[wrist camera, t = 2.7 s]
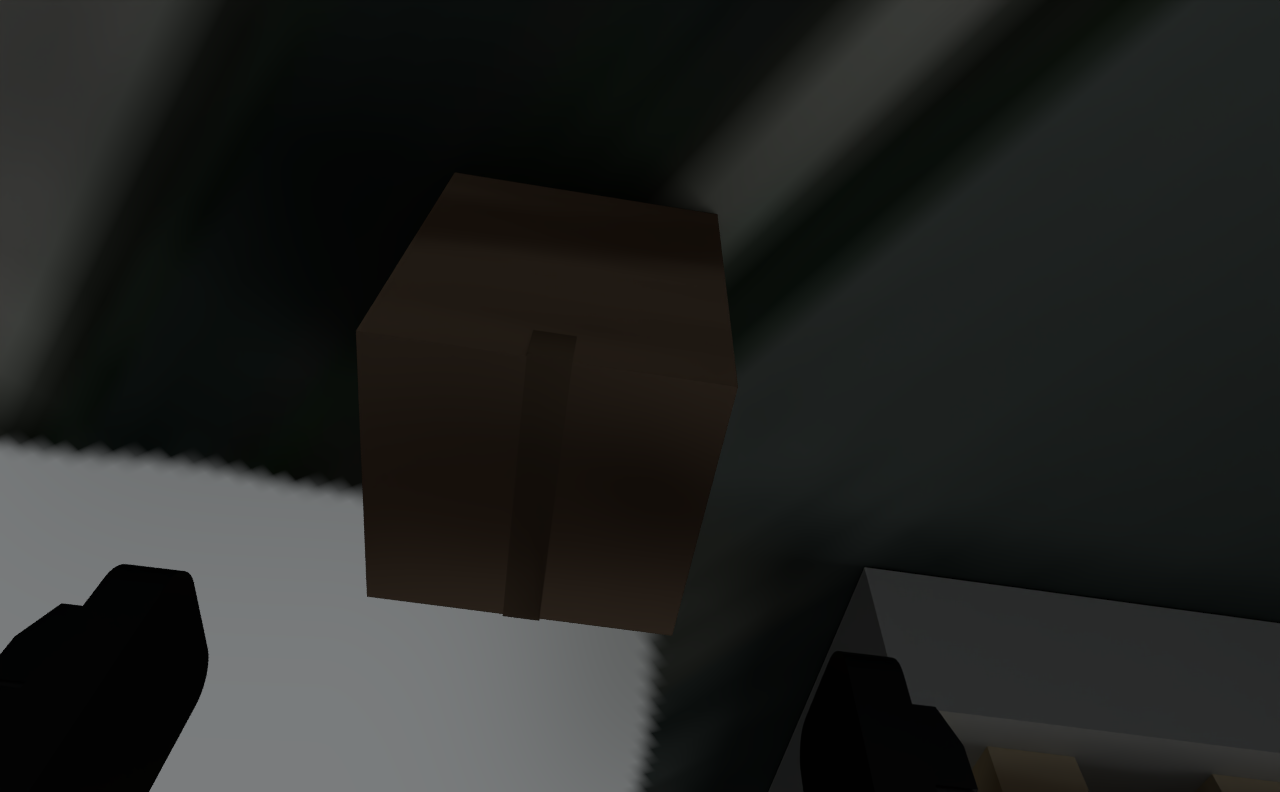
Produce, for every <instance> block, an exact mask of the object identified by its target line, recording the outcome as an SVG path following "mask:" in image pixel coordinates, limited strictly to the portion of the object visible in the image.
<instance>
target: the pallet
mask: <svg viewBox="0 0 1280 792" xmlns="http://www.w3.org/2000/svg"><path fill="white" fill-rule="evenodd" d="M972 772H973V775H974V778H975V781H976V784H977V787H978V792H1089V789H1088V787H1087V785H1086V782H1085V780H1084V778H1083V776H1082V773H1081V771H1080V769H1079V766H1078V764H1077V762H1076V759H1075V757H1071V756H1063V755H1055V754H1047V753H1039V752H1031V751H1023V750H1015V749H1006V748H998V747H990V746H987V747H986V749H985V750H984V752H983V753H982V755H981V756H980V758H979V759H978V761H977V762H976V764H975V765H974V767H973V768H972ZM1195 792H1280V782H1274V781H1266V780H1258V779H1250V778H1242V777H1233V776H1225V775H1217V774H1211V775H1210V777H1209V778H1208V779H1207V780H1206V781H1205V782H1204V783H1203V784H1202V785H1201V786H1200V787H1199V788H1198V789H1197V790H1196V791H1195Z"/></svg>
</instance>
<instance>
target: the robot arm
mask: <svg viewBox="0 0 1280 792" xmlns="http://www.w3.org/2000/svg"><path fill="white" fill-rule="evenodd" d="M207 668H208V648H207V644H206V638H205V633H204V629H203V624H202V619H201V615H200V610H199V605H198V601H197V595H196V591H195V586H194V582H193V578H192V577H191V575H190V574H189V573H188V572H186V571H178V570H170V569H162V568H154V567H145V566H136V565H128V564H121V565H118V566H116V567H115V568H113V569H112V570H111V571H110V572H109V573H108V574H107V575H106V576H105V578H104V579H103V580H102V581H101V583H100V584H99V586H98V587H97V588H96V589H95V591H94V592H93V593H92V595H91V596H90V598H89V599H88V600H87V601H86V603H85V604H84V605H83V606H79V605H71V604H60V605H59V606H57V607H56V608H54V609H53V610H52V611H50V612H49V613H47V614H46V615H44V616H43V617H42V618H40V619H39V620H38V621H36V622H35V623H33V624H32V625H30V626H29V627H28V628H26V629H25V630H23V631H22V632H21V633H19V634H18V635H16V636H15V637H14V638H13V639H12V641H11V642H10V643H9V644H8V645H7V647H6V648H5V649H4V650H3V652H2V653H1V654H0V792H149V791H150V789H151V787H152V785H153V783H154V782H155V780H156V778H157V776H158V774H159V772H160V770H161V769H162V767H163V765H164V763H165V761H166V759H167V758H168V756H169V754H170V752H171V750H172V748H173V746H174V744H175V743H176V741H177V739H178V737H179V735H180V733H181V732H182V730H183V728H184V726H185V724H186V722H187V720H188V719H189V716H190V715H191V713H192V711H193V709H194V708H195V706H196V704H197V702H198V699H199V697H200V695H201V692H202V689H203V686H204V683H205V679H206V675H207ZM800 771H801V778H802V785H803V792H978V787H977V784H976V781H975V778H974V775H973V772H972V769H971V766H970V763H969V760H968V757H967V754H966V751H965V748H964V745H963V744H962V743H961V741H960V740H959V738H958V737H957V736H956V734H955V733H954V732H953V730H952V729H951V727H950V726H949V725H948V723H947V722H946V720H945V719H944V718H943V716H942V715H941V714H940V712H939V711H938V709H937V708H936V707H934V706H925V705H917V704H912V701H911V698H910V694H909V691H908V687H907V684H906V680H905V677H904V673H903V670H902V668H901V666H900V664H899V662H898V661H897V660H896V659H895V658H893V657H886V656H877V655H869V654H860V653H852V652H843V651H835V652H834V653H833V654H832V656H831V657H830V660H829V662H828V664H827V667H826V669H825V672H824V674H823V676H822V679H821V681H820V684H819V686H818V689H817V691H816V694H815V696H814V698H813V701H812V703H811V706H810V708H809V711H808V713H807V715H806V718H805V721H804V724H803V728H802V733H801V740H800Z"/></svg>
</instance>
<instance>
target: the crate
mask: <svg viewBox="0 0 1280 792" xmlns="http://www.w3.org/2000/svg"><path fill="white" fill-rule="evenodd" d="M356 343H357V367H358V391H359V415H360V439H361V463H362V487H363V510H364V535H365V558H366V582H367V583H366V584H367V597H375V598H383V599H391V600H398V601H406V602H414V603H421V604H430V605H437V606H445V607H453V608H460V609H468V610H476V611H484V612H492V613H499V614H503V616H508V617H514V618H523V619H530V620H539V619H546V620H555V621H563V622H570V623H578V624H585V625H593V626H601V627H609V628H617V629H624V630H632V631H640V632H648V633H656V634H663V635H671V636H672V634H673V630H674V626H675V622H676V619H677V615H678V611H679V607H680V603H681V600H682V596H683V592H684V588H685V585H686V581H687V577H688V573H689V569H690V566H691V562H692V558H693V554H694V551H695V547H696V543H697V539H698V536H699V532H700V528H701V524H702V520H703V517H704V513H705V509H706V505H707V502H708V498H709V494H710V490H711V486H712V483H713V479H714V475H715V471H716V468H717V464H718V460H719V456H720V452H721V449H722V445H723V441H724V437H725V434H726V430H727V426H728V422H729V418H730V415H731V411H732V407H733V403H734V400H735V396H736V392H737V388H738V384H737V376H736V367H735V359H734V350H733V342H732V333H731V325H730V317H729V308H728V300H727V291H726V283H725V274H724V266H723V257H722V249H721V240H720V232H719V224H718V215H717V214H711V213H705V212H699V211H692V210H686V209H680V208H674V207H667V206H661V205H655V204H649V203H642V202H636V201H630V200H624V199H617V198H611V197H605V196H599V195H592V194H586V193H580V192H574V191H567V190H561V189H555V188H549V187H542V186H536V185H530V184H524V183H517V182H511V181H505V180H498V179H492V178H486V177H480V176H473V175H467V174H461V173H454V174H453V176H452V178H451V179H450V181H449V182H448V184H447V186H446V187H445V189H444V190H443V192H442V194H441V195H440V197H439V199H438V200H437V202H436V203H435V205H434V207H433V208H432V210H431V211H430V213H429V215H428V216H427V218H426V219H425V221H424V223H423V224H422V226H421V227H420V229H419V231H418V232H417V234H416V235H415V237H414V239H413V240H412V242H411V243H410V245H409V247H408V248H407V250H406V251H405V253H404V255H403V256H402V258H401V259H400V261H399V263H398V264H397V266H396V268H395V269H394V271H393V272H392V274H391V276H390V277H389V279H388V280H387V282H386V284H385V285H384V287H383V288H382V290H381V292H380V293H379V295H378V296H377V298H376V300H375V301H374V303H373V304H372V306H371V308H370V309H369V311H368V312H367V314H366V316H365V317H364V319H363V320H362V322H361V324H360V325H359V327H358V328H357V330H356Z"/></svg>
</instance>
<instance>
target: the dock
mask: <svg viewBox="0 0 1280 792" xmlns="http://www.w3.org/2000/svg"><path fill="white" fill-rule="evenodd" d="M835 651H843V652H852V653H860V654H869V655H877V656H886V657H893V658H895V659H896V660H897V661H898V662H899V664H900V666H901V668H902V670H903V673H904V677H905V680H906V684H907V687H908V691H909V694H910V698H911V701H912V704H917V705H925V706H934V707H936V708H937V709H938V711H939V712H940V714H941V715H942V716H943V718H944V719H945V720H946V722H947V723H948V725H949V726H950V727H951V729H952V730H953V732H954V733H955V734H956V736H957V737H958V738H959V740H960V741H961V743H962V744H963V745H964V748H965V751H966V754H967V757H968V760H969V763H970V766H971V769H972V768H973V767H974V765H975V764H976V762H977V761H978V759H979V758H980V756H981V755H982V753H983V752H984V750H985V749H986V747H987V746H990V747H998V748H1006V749H1015V750H1023V751H1031V752H1039V753H1047V754H1055V755H1063V756H1071V757H1075V759H1076V762H1077V764H1078V766H1079V769H1080V771H1081V773H1082V776H1083V778H1084V780H1085V782H1086V785H1087V787H1088V789H1089V792H1195V791H1196V790H1197V789H1198V788H1199V787H1200V786H1201V785H1202V784H1203V783H1204V782H1205V781H1206V780H1207V779H1208V778H1209V777H1210V775H1211V774H1217V775H1225V776H1233V777H1242V778H1250V779H1258V780H1266V781H1274V782H1280V623H1274V622H1266V621H1259V620H1251V619H1244V618H1237V617H1229V616H1222V615H1214V614H1207V613H1200V612H1192V611H1185V610H1177V609H1170V608H1163V607H1155V606H1148V605H1140V604H1133V603H1126V602H1118V601H1111V600H1103V599H1096V598H1089V597H1081V596H1074V595H1066V594H1059V593H1052V592H1044V591H1037V590H1029V589H1022V588H1015V587H1007V586H1000V585H992V584H985V583H978V582H970V581H963V580H955V579H948V578H941V577H933V576H926V575H918V574H911V573H904V572H896V571H889V570H881V569H874V568H867V567H864V569H863V572H862V574H861V576H860V579H859V581H858V583H857V586H856V588H855V590H854V593H853V595H852V597H851V600H850V602H849V604H848V607H847V609H846V612H845V614H844V616H843V619H842V621H841V623H840V626H839V628H838V630H837V633H836V635H835V637H834V640H833V642H832V644H831V647H830V649H829V651H828V654H827V656H826V658H825V661H824V663H823V665H822V668H821V670H820V672H819V675H818V677H817V679H816V682H815V684H814V686H813V689H812V691H811V693H810V696H809V698H808V700H807V703H806V705H805V707H804V710H803V712H802V714H801V717H800V719H799V721H798V724H797V726H796V728H795V731H794V733H793V735H792V738H791V740H790V742H789V745H788V747H787V749H786V752H785V754H784V756H783V759H782V761H781V763H780V766H779V768H778V770H777V773H776V775H775V777H774V780H773V782H772V784H771V787H770V789H769V791H768V792H803V785H802V778H801V771H800V740H801V733H802V728H803V724H804V721H805V718H806V715H807V713H808V711H809V708H810V706H811V703H812V701H813V698H814V696H815V694H816V691H817V689H818V686H819V684H820V681H821V679H822V676H823V674H824V672H825V669H826V667H827V664H828V662H829V660H830V657H831V656H832V654H833V653H834V652H835Z"/></svg>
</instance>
